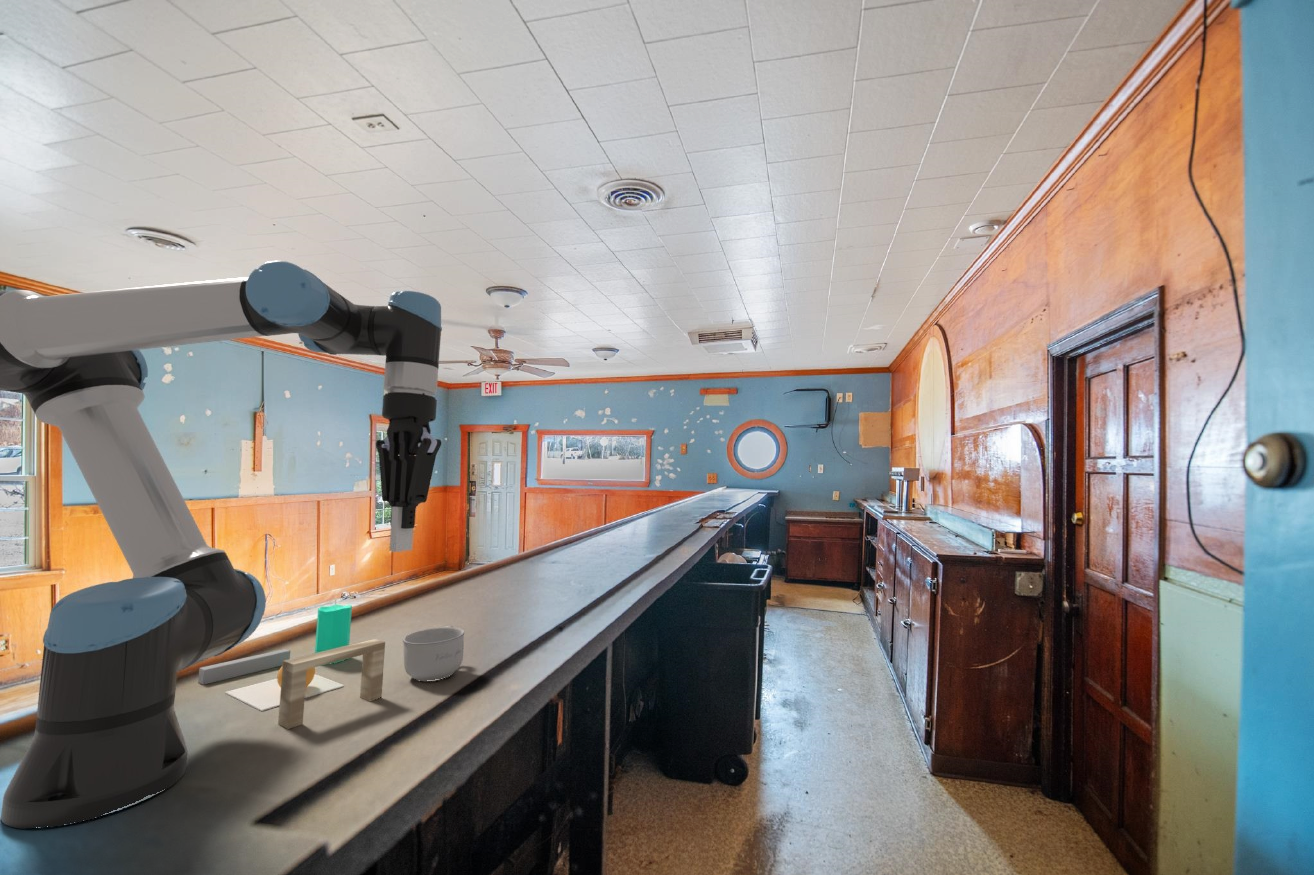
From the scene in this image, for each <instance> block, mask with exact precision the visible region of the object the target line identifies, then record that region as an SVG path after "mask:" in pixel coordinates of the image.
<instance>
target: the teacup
mask: <svg viewBox="0 0 1314 875" xmlns="http://www.w3.org/2000/svg"><path fill="white" fill-rule="evenodd" d="M464 635H465V630H464V629H463V628H459V627H454V626H453V625H446V626H442V627H432V628H426V629H422V630H418V631H414V632H411V633H409V634H407V635H405V636H404V637H403V638H402V642H403V665H404V670H405V673H406V674H407V675H408V676H410V677H411V678H413V679H414V680H415V679H417V680H420V681H427V680H435V679H441V678H444V677H447V678H449V677H450V676H449V675H451V674H452V675H453V674H454V673H455V672H456V671H457V670H458V669H459V668H460V666H462V663H463V660H464V646H465V645H464V644H465V643H464V642H465V641H464V640H465V638H464ZM452 675H451V676H452ZM448 676H449V677H448ZM417 680H416V681H417ZM420 681H419V682H420Z"/></svg>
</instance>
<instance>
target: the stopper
mask: <svg viewBox="0 0 1314 875" xmlns="http://www.w3.org/2000/svg"><path fill="white" fill-rule="evenodd" d="M288 659H291V650H289V649H287V648H284V649H279V650H274V651H270V652H266V653H261V654H256V655H251V656H248V657H242V658H238V659H234V660H229V661H224V662H220V663H216V664H211V665H206V666H202V667H199V668H198V669H199V670H198V680H197V681H198V682H197V683H198V684H201V685H207V684H212V683H215V682H220V681H223V680H228V679H233V678H237V677H240V676H245V675H249V674H253V673H257V672H261V671H265V670H269V669H274V668H278V667H282V666H283V661H284V660H288Z"/></svg>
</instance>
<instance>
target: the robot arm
mask: <svg viewBox="0 0 1314 875" xmlns="http://www.w3.org/2000/svg"><path fill="white" fill-rule="evenodd" d="M442 331H443V327H442V306H441V303H440V302H439V300H437V299H436V298H435V297H433V296H432V295H430V294H428V293H424V292H421V291H414V290H402V291H394V292H393V293H392V294H390V296H389V301H388V302H387V305H380V306H379V305H365V304H364V305H362V304H355V303H353V302H352V301H350V300H349V299H348V298H346V297H344V296H343V295H341V294H340V293H339V292H337V290H335V289H333V288H331V287H330V286H329V285H327V284H326V283H325V282H324V281H322V280H321V279H320V278H319V277H318V276H317V275H315V274H314V273H312V272H311V271H309V270H307V269H305V268H304V269H303V268H302V267H301V266H299V265H297V264H295V263H292V262H289V261H286V260H272V261H266V262H265V263H263V264H262V265H260V266H258V267H257V268H255V269H253V270H252V271H251V273H250V274H249V276H248V277H246V276H245V277H237V278H226V279H225V278H224V279H216V280H205V281H193V282H184V283H183V282H181V283H171V284H162V285H152V286H142V287H141V286H140V287H139V286H138V287H131V288H130V287H129V288H128V287H127V288H120V289H109V290H97V291H87V292H76V293H75V292H74V293H67V294H57V295H56V294H54V295H42V294H41V293H38V292H36V291H32V290H27V289H15V290H5V291H4V290H3V291H0V391H4V392H11V393H17V394H23V395H24V396H25V397H26V400H27V402H28V403H29V406H30V407H31V409H32V411H33V414H35V417H36V418H37V420H38V421H40V422H41V423H43V424H47V425H50V426H55V427H57V428H58V429H59V431H60V432H61V433H60V434H61V435H62V437H63V438H64V441H65V443H66V444H67V447H68V448H69V451H70V453H71V454H72V456H73V459H74V460H75V463H76V464H77V467H78V468H79V470H80V472H81V474H82V476H83V478H84V480H85V483H86V484H87V486H88V488H89V489H90V492H91V494H92V496H93V497H94V499H95V501H96V502H95V503H96V504H97V506H98V507H99V510H100V511H101V514H102V516H103V518H104V519H105V522H106V524H107V525H108V527H109V529H110V531H111V533H112V536H113V537H114V539H115V541H116V544H117V545H118V547H119V549H120V551H121V553H122V555H123V557H124V558H125V561H126V563H127V565H128V566H129V568H130V569H129V570H130V571H131V572H132V578H127V579H122V580H119V581H108V582H104V583H100V584H96V585H95V584H94V585H91V586H87V587H85V588H81V589H78V590H76V591H73V592H71V593H69V594H66V595H65V596H64V597H62V598H61V599H60V600H58V601H57V602H56V603H55V604H54V606H53V607H52V608H51V611H50V613H49V618H48V622H47V628H46V630H45V631H44V635H43V638H42V643H43V654H42V662H41V671H40V682H39V691H38V701H37V710H36V720H35V730H34V736H33V738H32V740H31V742H30V744H29V746H28V747H27V750H26V752H25V753H24V755H23V757H22V759H21V761H20V763H19V765H18V767H17V768H16V770H15V772H14V775H13V777H12V778H11V780H10V781H9V784H8V785H7V787H6V790H5V792H4V794H3V798H2V804H1V806H2V807H1V812H0V820H1V822H2V823H3V824H4V825H6V826H8V827H11V826H12V827H11V828H16V829H23V828H36V827H37V828H38V827H41V828H40V829H43V828H42V827H47V826H48V827H50V828H52V827H51V826H58V827H62V826H61V825H64V824H70V823H74V822H79V823H82V822H81V821H83V820H88V821H91V820H90V819H92V820H95V819H94V818H95V817H99V816H101V815H103V814H105V813H109V812H111V811H113V810H117V809H118V808H122V807H124V806H127V805H129V804H132V803H135V802H136V801H139V800H141V799H143V798H144V797H146V796H148V795H152V794H156V793H157V792H160V791H162V790H164V789H166V788H168V789H170V787H173V786H174V785H175V784H176V783H178V781H180V780H181V779H182V777H183V776H184V775H185V773H186V770H187V765H188V755H189V754H188V752H189V751H188V747H187V746H188V745H187V744H186V740H185V738H184V735H183V732H182V729H181V725H180V723H179V720H178V717H177V714H176V711H175V710H176V709H175V701H176V700H175V699H176V690H177V688H176V687H177V682H178V681H177V680H178V672H181V671H183V670H185V669H187V668H190V667H192V666H195V665H196V664H199V663H201V662H203V661H206V660H208V659H210V658H212V657H218V656H220V655H223V654H224V653H226V652H228V651H230V650H232V649H234V648H235V647H236V646H238V645H240V644H241V643H243V642H244V641H246V640H247V639H248V638H250V636H252V635H253V634H254V633H255V632H256V630H257V628H258V627H259V625H260V623H261V621H262V620H263V619H262V618H263V616H264V615H265V611H266V602H267V600H266V593H265V590H264V587H263V585H262V584H261V582H260V581H259V579H258V578H257V577H255V576H254V575H253V574H251V573H249V572H246V571H243V570H241V569H237V568H234V566H233V564H232V562H231V560H230V558H229V557H228V555H227V553H226V552H225V550H224V549H220V548H214V547H211V546H209V545H208V544H207V542H206V541H205V540H206V539H205V538H204V536H203V535H202V532H201V531H200V528H199V526H198V524H197V522H196V520H195V518H194V516H193V515H192V513H191V511H190V509H189V507H188V505H187V503H186V501H185V499H184V497H183V495H182V493H181V491H180V489H179V487H178V485H177V484H176V482H175V479H174V477H173V475H172V474H171V472H170V470H169V467H168V466H167V464H166V462H165V459H164V458H163V456H162V454H161V452H160V451H159V448H158V446H157V444H156V442H155V441H154V438H153V437H152V435H151V433H150V431H149V428H148V427H147V425H146V423H145V421H144V419H143V417H142V415H141V413H140V412H139V409H138V408H139V406H141V404H142V402H144V400H145V394H144V388H145V386H146V383H147V382H145V379H146V378H148V375H149V370H148V364H147V362H146V359H145V357H144V355H143V353H142V351H141V350H148V349H159V348H167V347H168V348H169V347H175V346H176V347H177V346H185V345H192V344H193V345H194V344H195V345H196V344H201V343H202V344H203V343H204V344H205V343H213V342H221V341H231V340H232V341H233V340H239V339H249V338H257V337H258V338H259V337H269V336H270V337H271V336H279V335H288V334H289V335H290V334H297V335H298V338H299V341H300V342H301V343H303V346H304V347H305V348H306V349H307V350H309V351H311V352H314V353H321V354H322V353H323V354H329V355H332V356H333V355H358V356H359V355H362V356H383V357H384V356H385V363H384V364H385V365H384V374H383V375H384V378H383V386H382V387H383V390H385V391H386V392H387V393H385V394H384V395H383V396H382V407H381V416H382V417H383V419H385V420H388V421H389V424H388V426H387V429H386V436H385V438H383V439H377V440H376V442H375V447H376V449H377V453H378V459H379V460H378V461H379V473H380V488H381V500H382V501H383V502H387V503H388V505H389V507H391V511H390V537H389V551H388V552H393V553H394V552H406V551H408V552H409V551H413V542H414V541H413V540H414V539H413V537H414V528H415V524H416V512H417V510H416V509H417V507H418V506H419V505H420V504H421V503H423V504H424V503H426V502H427V500H428V496H429V491H430V486H431V480H432V476H433V472H434V468H435V467H434V466H435V462H436V459H437V454H438V452H439V450H440V449H441V446H442V441H441V439H437V438H435V437H433V435H431V427H430V426H431V425H430V423H432V422H434V421H435V420H436V418H437V404H438V403H437V401H438V400H437V399H436V397H435V395H437V393H438V378H439V376H438V374H439V367H440V366H439V365H440V364H439V362H440V352H441V350H440V349H441V336H442ZM166 790H167V789H166ZM99 818H100V817H99ZM70 825H71V824H70ZM64 826H65V825H64Z"/></svg>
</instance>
